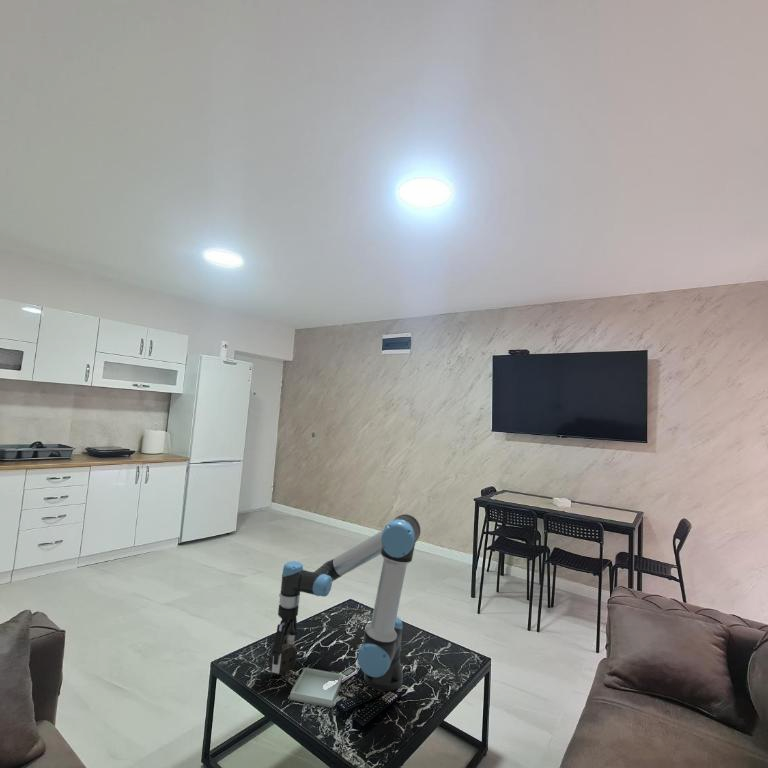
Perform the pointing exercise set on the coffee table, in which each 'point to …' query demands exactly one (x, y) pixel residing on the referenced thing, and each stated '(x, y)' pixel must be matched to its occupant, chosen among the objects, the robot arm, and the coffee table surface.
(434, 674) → the coffee table surface
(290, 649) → the alarm clock
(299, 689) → the tray
